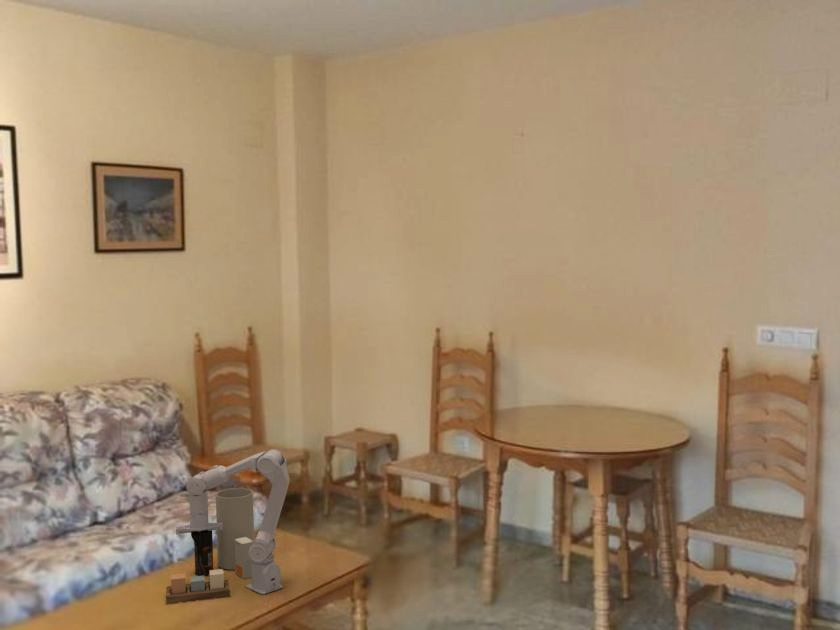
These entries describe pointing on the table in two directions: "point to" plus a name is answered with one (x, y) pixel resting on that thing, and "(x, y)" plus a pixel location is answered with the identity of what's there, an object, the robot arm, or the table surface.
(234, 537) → the cylinder vase
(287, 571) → the table surface
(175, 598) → the socket board
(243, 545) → the skincare box
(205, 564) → the deodorant
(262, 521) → the robot arm
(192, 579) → the slate blue key
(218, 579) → the cream key
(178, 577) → the terracotta key
